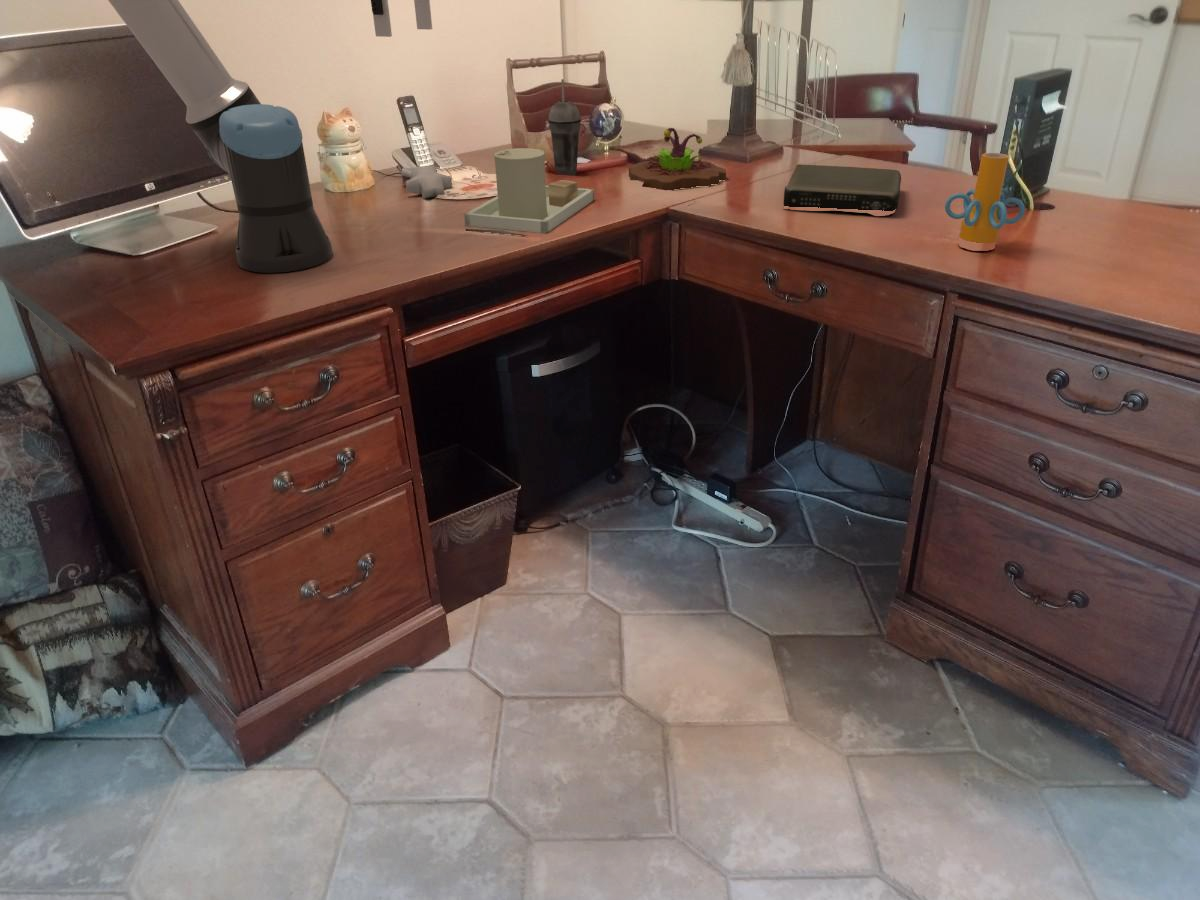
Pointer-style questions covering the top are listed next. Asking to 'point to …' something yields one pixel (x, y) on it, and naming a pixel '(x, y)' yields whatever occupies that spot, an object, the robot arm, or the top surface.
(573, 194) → the block
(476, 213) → the tray
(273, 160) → the robot arm
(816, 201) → the network switch
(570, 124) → the beverage cup
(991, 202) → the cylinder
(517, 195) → the can
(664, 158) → the plant
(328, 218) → the top surface
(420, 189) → the grey lobed piece
